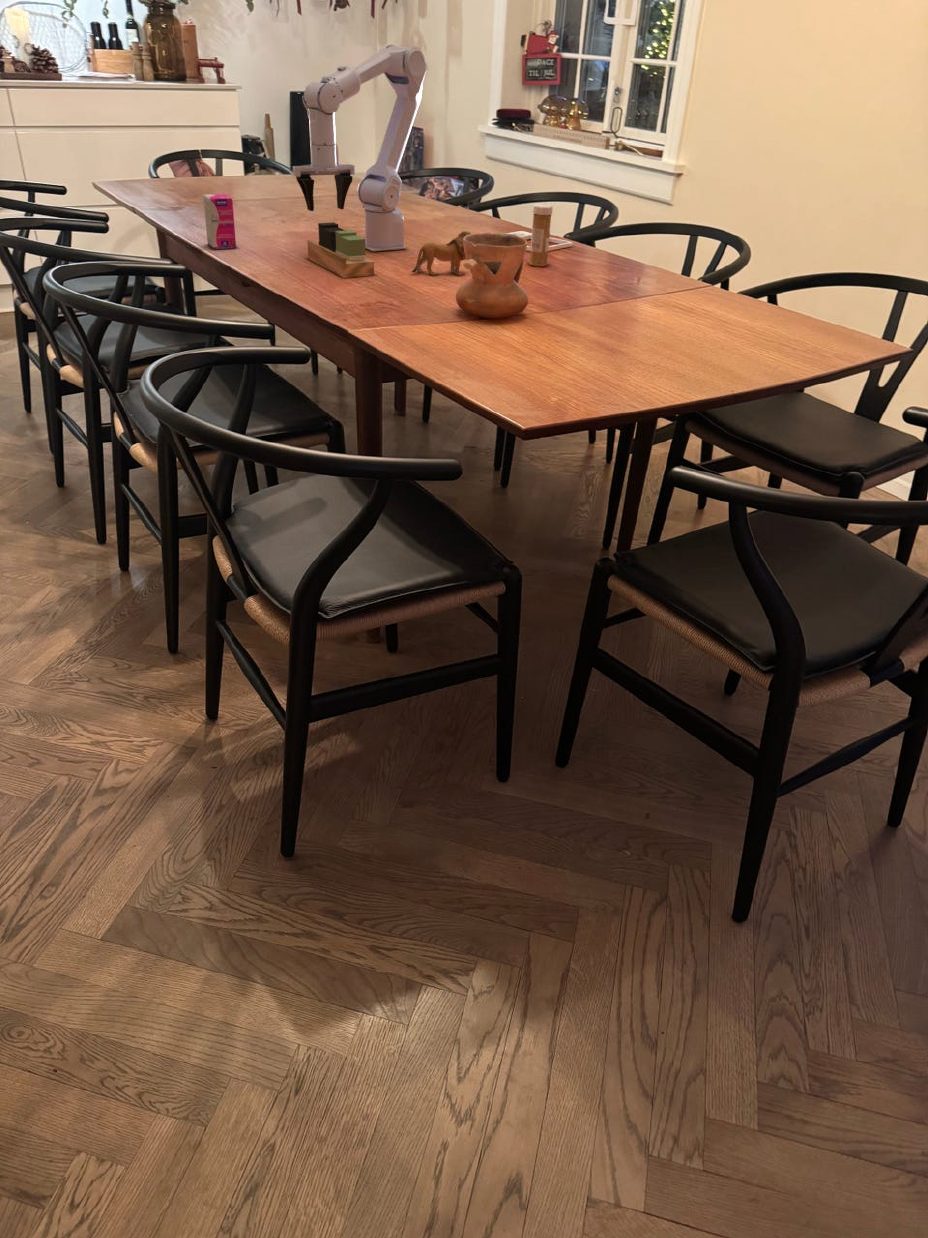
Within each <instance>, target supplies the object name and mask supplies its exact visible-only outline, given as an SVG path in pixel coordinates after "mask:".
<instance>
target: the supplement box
mask: <svg viewBox="0 0 928 1238" xmlns="http://www.w3.org/2000/svg"><path fill="white" fill-rule="evenodd" d="M202 200H203V201H202V202H203V211H204V220H205V230H206V231H205V233H206V241H207V245H208V246H209V247H210V248H211V249H212V250H227V249H237V238H236V228H235V227H236V225H235V215H234V214H235V213H234V203H233V198H232V197H231V196H229V195H228V194H227V193H207V194H206V193H205V194H204V193H203V194H202Z"/></svg>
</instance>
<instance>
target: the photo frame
mask: <svg viewBox="0 0 928 1238" xmlns="http://www.w3.org/2000/svg"><path fill="white" fill-rule="evenodd" d="M505 234H513V235H517V236H519V237H523V238H524V239H526V240H531V236H532V232H528V231H524V230H519V231H512V232H507V233H505ZM549 243H554V244H552V245H549V250H548V252H551V251H556V250H560V249H564V248H569V247H573V246H574V242H572V241H569V240H565V239H560V238H555V237H552V236H551V237H550V238H549ZM526 251H527V252H531V246H529V245H527V247H526Z"/></svg>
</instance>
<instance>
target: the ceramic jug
mask: <svg viewBox="0 0 928 1238" xmlns="http://www.w3.org/2000/svg"><path fill="white" fill-rule="evenodd" d="M463 246H464V252H465V256H466V260H465V262H464V263H463V267H464V268H465V269H466V270H469V271H470V275H471V278H470V279H468V280H467V281H465V282H464V283H462V284H461V285H460V286H459V287H458V288H457V290H456V292H455V302H456V304H457V306H458V307H459V309H461V311H463V312H464V313H467V314H469V315H471V316H473V317H477V318H482V319H506V318H510V317H513V316H516V315H518V314H520V313H521V312H523V311H524V310H525V309H526V308H527V306H528V304H529V295H528V293H527V291H526V290H525V289H524V287H522V286H521V285H519V281H520V279H521V275H522V271H523V267H524V257H525V254H526V251H527V250H526V247H527V246H528V241H527V239H524V238H523V237H519V236H517V235H513V234H506V233H503V232H475V233H471V234H470V235H467V236H465V237H464V238H463Z"/></svg>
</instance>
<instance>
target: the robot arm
mask: <svg viewBox="0 0 928 1238" xmlns="http://www.w3.org/2000/svg"><path fill="white" fill-rule="evenodd" d="M427 70H428V63H427V61H426V58H425V54H424V51H422V50H421V48H419V47H417V46H397V45H393V44H387V45H386V46H385V47H381V48H379V49H378V50H377V52H376V53H374V54H373V55H371V56H370V57H368V58H367V59H365V60H364V61H362V62H361V63H360V64H358V65H357V66H355V67H354V68H353V67H351V66H348V65H339V66H337V67H336V71H335V72H333V73H331V74H330V75H323V76H322V77H321V79H320V81H319V82H318V81H313V82H309V84H307V86H306V87H305V89H304V91H303V92H304V93H303V95H302V96H301V100H302V104H303V106H304V108H305V109H306V111H307V118H308V120H309V121H308V124H309V125H308V126H309V144H310V164H304V165H293V166H292V176H293V177H295V179H296V181H297V183H298V186H299V187H300V190H301V192H302V194H303V197H304V200H305V204H306V208H307V211H310V212H314V211H315V202H314V201H315V200H314V187H315V180H314V179H312V177H313V176H315V177H316V176H333V177H334V182H335V189H336V206H337V207H336V208H337V209H339V210H344V209H345V204H346V199H347V194H348V192H349V189H350V187H351V184H352V183H353V176H354V175H355V174H356V173H355V169H356V168H355V165H354V164H350V163H349V164H348V163H347V164H345V163H344V164H342V163H340V164H339V163H338V164H337V141H336V115H335V114H336V113H337V112H338V110H339V108H340V105H341V104H342V103H344V102H346V101H347V100H349V99H351V98H353V97H355V96H356V95H357V94H359V92H360V91H361V85H363V84H365V83H367V82H369V81H371V80H373V79H375V78H377V77H378V76H380V75H383V74H384V76H385V78H386V79H387V81H388V83H389V84H390V86H391V87H392V89H393V90H394V92H395V95H396V98H395V101H394V105H393V108H392V111H391V114H390V117H389V120H388V124H387V126H386V129H385V133H384V136H383V139H382V142H381V146H380V147H379V152H378V154H377V157H376V161H375V163H374V164H372V166H370V167H369V168H367V170H366V171H365V174H364V176H363V178H362V179H361V180H360V181H359V183H358V186H357V197H358V200H359V202H360V204H362V209H364V211H363V212H364V239H365V250H366V249H367V250H368V251H371V252H384V251H396V250H406V246H405V218H404V215H403V214H404V213H403V212H402V211H401V210H400V209H398V208H397V207H398V205H399V203H400V200H401V188H402V184H403V181H402V179H401V177H400V175H399V174H398V171H399V167H400V164H401V161H402V159H403V155H404V152H405V149H406V146H407V144H408V141H409V137H410V134H411V131H412V128H413V124H414V122H415V119H416V115H417V113H418V109H419V108H420V107H419V106H420V104H421V100H422V96H423V95H422V94H423V82H424V80H425V76H426V73H427Z"/></svg>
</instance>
